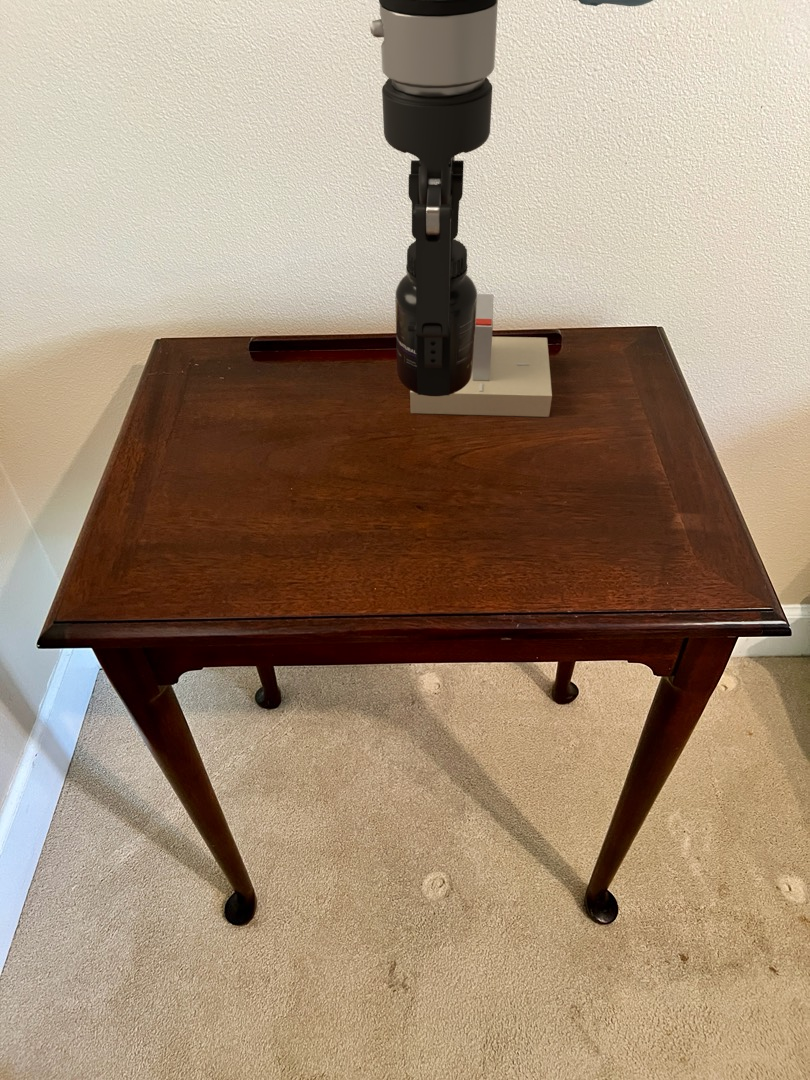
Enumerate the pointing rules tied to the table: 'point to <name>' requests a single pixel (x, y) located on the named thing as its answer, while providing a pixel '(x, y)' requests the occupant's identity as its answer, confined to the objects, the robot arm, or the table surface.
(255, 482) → the table surface
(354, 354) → the table surface
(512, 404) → the sink deck
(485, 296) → the tap lever
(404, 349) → the supplement bottle
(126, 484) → the table surface
